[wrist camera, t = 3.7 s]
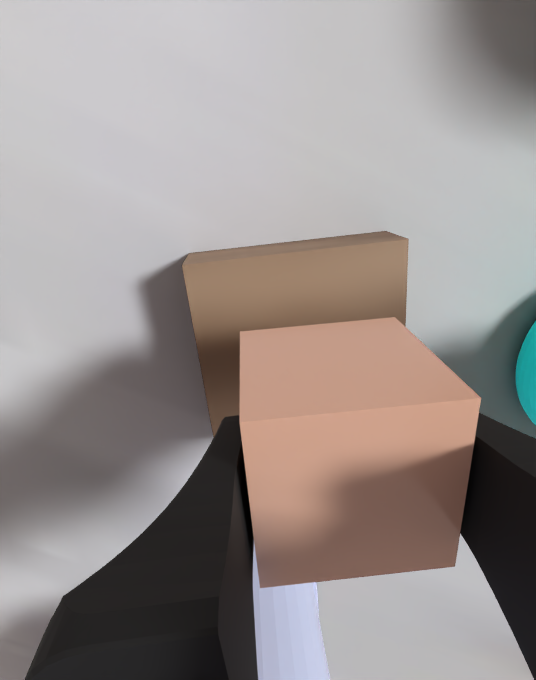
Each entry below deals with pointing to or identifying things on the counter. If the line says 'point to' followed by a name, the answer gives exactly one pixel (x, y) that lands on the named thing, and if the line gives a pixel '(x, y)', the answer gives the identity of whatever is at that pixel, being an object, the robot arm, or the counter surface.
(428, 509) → the cube
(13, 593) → the counter surface
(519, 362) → the donuts
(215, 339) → the slab
